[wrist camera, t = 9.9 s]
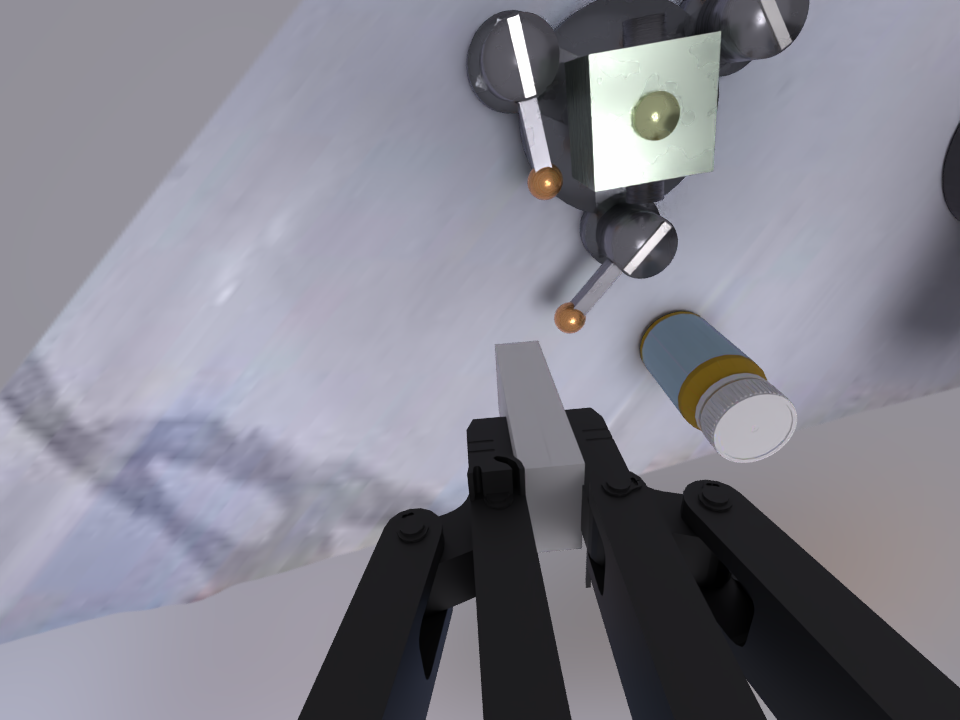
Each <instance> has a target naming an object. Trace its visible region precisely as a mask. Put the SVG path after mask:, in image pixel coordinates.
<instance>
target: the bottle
mask: <svg viewBox="0 0 960 720" xmlns="http://www.w3.org/2000/svg"><path fill="white" fill-rule="evenodd" d="M640 353H641V359H642V361H643V363H644V364H645V366H646V368H647V369H648V370H649V372H650V373H651V374H652V376H653V377H654V378H655V380H656V381H657V382H658V384H659V385H660V386H661V388H662V389H663V390H664V392H665V393H666V394H667V396H668V397H669V398H670V400H671V401H672V402H673V404H674V405H675V406H676V408H677V409H678V410H679V412H680V413H681V414H682V416H683V417H684V418H685V419H686V421H687V422H688V423H689V424H691V425H692V426H693V427H695V428H697V429H699V430H701V431H702V432H703V434H704V436H705V437H706V438H707V440H708V441H709V442H710V444H711V445H712V446H713V447H714V449H715V450H716V451H717V453H719V454H720V455H721V456H723V457H724V458H726V459H728V460H730V461H733V462H738V463H748V462H755V461H758V460H761V459H764V458H766V457H769V456H770V455H772V454H774V453H775V452H777V451H778V450H779V449H781V448H782V447H783V446H784V445H785V444H786V443H787V442H788V441H789V439H790V438H791V436H792V435H793V433H794V431H795V428H796V424H797V413H796V410H795V408H794V406H793V404H792V402H791V401H790V400H789V399H788V398H787V397H785V396H784V395H783V394H782V393H781V392H780V391H779V390H777V389H776V388H775V387H774V386H773V385H771V384H770V383H769V382H768V381H767V379H766V377H765V374H764V372H763V370H762V369H761V368H760V367H759V366H758V365H757V364H756V363H755V362H754V361H752V360H751V359H750V358H749V357H748V356H747V355H745V354H744V353H743V352H742V351H741V350H740V349H738V348H737V347H736V346H735V345H734V344H733V343H731V342H730V341H729V340H728V339H727V338H725V337H724V336H723V335H722V334H721V333H720V332H718V331H717V330H716V329H715V328H714V327H713V326H711V325H710V324H709V323H708V322H707V321H705V320H704V319H703V318H701V317H700V316H699V315H697V314H694V313H691V312H681V311H680V312H674V313H670V314H667V315H665V316H663V317H661V318H660V319H658V320H657V321H655V322H654V323H653V324H652V325H651V326H650V327H649V328H648V329H647V331H646V333H645V334H644V336H643V338H642V342H641V346H640Z"/></svg>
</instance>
